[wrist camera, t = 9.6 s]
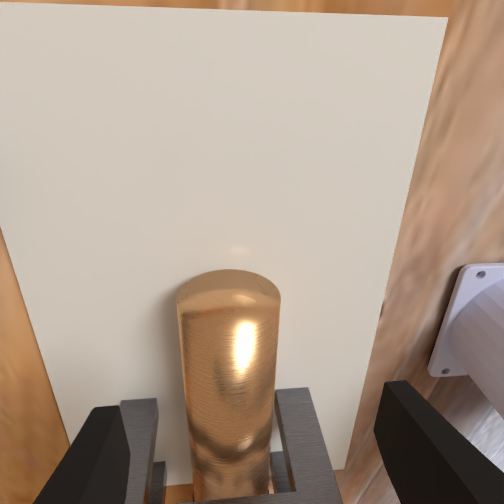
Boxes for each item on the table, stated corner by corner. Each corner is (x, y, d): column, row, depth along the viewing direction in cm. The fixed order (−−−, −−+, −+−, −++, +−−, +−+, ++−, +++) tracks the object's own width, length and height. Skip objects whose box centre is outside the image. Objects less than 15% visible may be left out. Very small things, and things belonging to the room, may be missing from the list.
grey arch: (308, 387, 23) (346, 514, 17) (305, 404, 24) (341, 532, 18) (121, 400, 22) (89, 542, 16) (124, 417, 23) (95, 560, 17)
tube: (160, 283, 18) (200, 346, 14) (249, 260, 20) (304, 309, 16) (185, 506, 26) (213, 579, 23) (245, 474, 28) (280, 537, 25)
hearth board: (442, 17, 15) (448, 17, 14) (342, 463, 28) (344, 469, 28) (-66, 0, 13) (-73, -1, 13) (87, 487, 26) (86, 493, 26)
